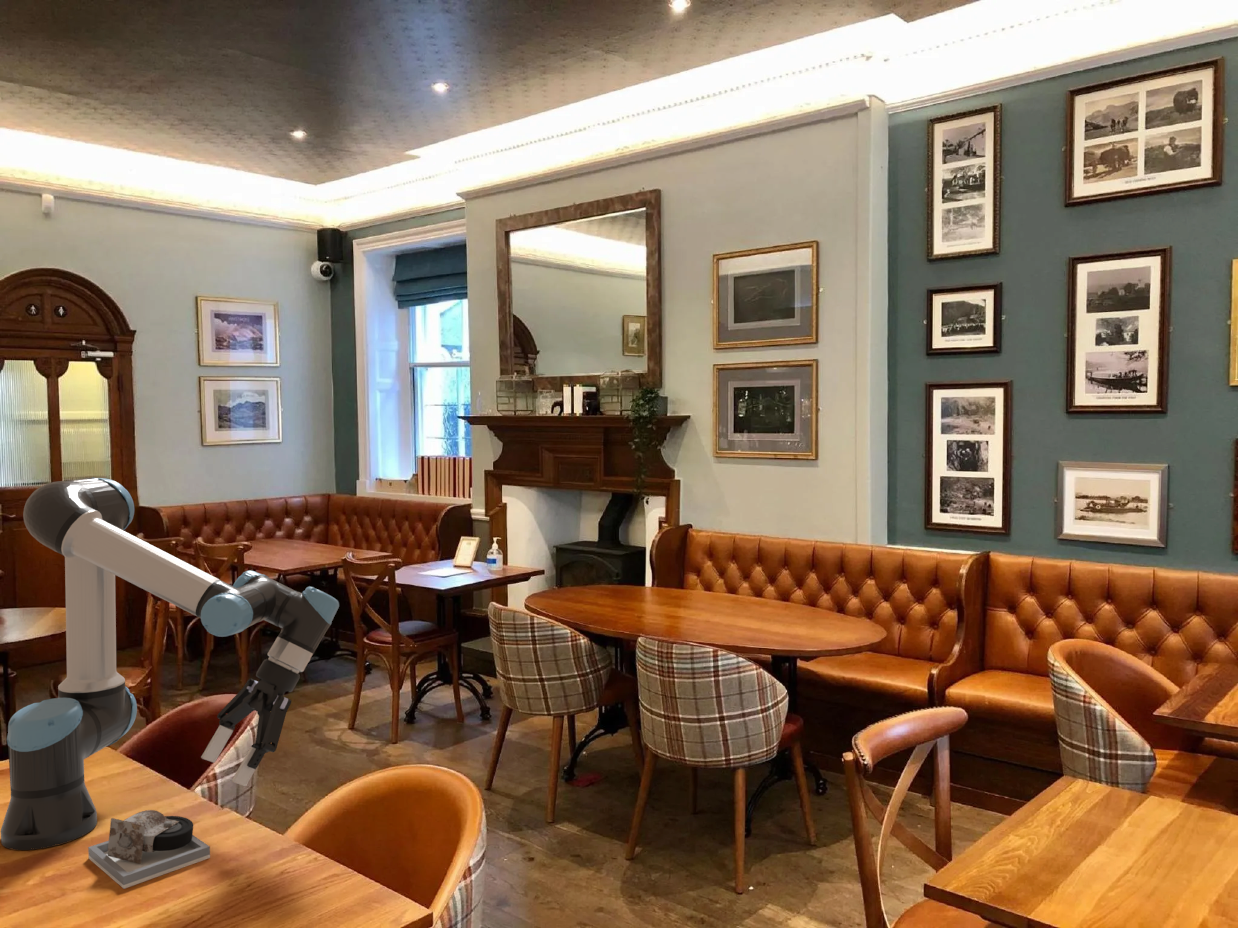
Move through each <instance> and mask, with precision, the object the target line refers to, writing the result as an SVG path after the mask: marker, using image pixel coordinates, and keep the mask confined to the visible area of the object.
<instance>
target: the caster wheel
mask: <svg viewBox="0 0 1238 928" xmlns="http://www.w3.org/2000/svg"><path fill="white" fill-rule="evenodd" d="M193 833H194V822H193V821H192V819H190V818H187V817H184V816H178V815H164V814H163V813H162V812H160V811H158V810H156V809H155V810H154V809H148V810H142V811H139V812H137V813H135V814H133V815H131V816H129V817H127V818H126V819H124V820H122V819H117V818H114V817H112V818H111V819H110V827H109V835H108V841H109V843H108V853H107V854H108V856H110V857H114V858H118V859H122V860H126V861H129V862H133V863H137V864H141V860H142V851H144V852H154V851H169V850H174V849H178V848H181V847H183V846H185V845H187V844H188V843H189V842H190V841H191V840H192V835H194V834H193Z"/></svg>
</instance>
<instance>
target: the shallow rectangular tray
mask: <svg viewBox="0 0 1238 928" xmlns="http://www.w3.org/2000/svg"><path fill="white" fill-rule="evenodd" d="M108 843H109V840H106V841H103V842H100V843H97V844H94V845H93V844H92V845H90V846H88V847H87V848H88V851H87V852H88V859H89V860H90V861H91V862H92V863H93V864H94V865H96V866H97V867H98V868H99V869H100V870H101V871H103V872H104V873H105V874H106V875H107V876H108V877H109V878H110V879H112V880H113V881H114V882H115V883H116V884H118V885H119V886H120V887H121V888H122V889H127V888H131V887H133V886H136V885H138V884H142V883H143V882H147V881H149V880H152V879H154V878H157V877H161V876H164V875H165V874H169V873H172V872H174V871H177V870H180V869H182V868H185V867H188V866H191V865H193V864H196V863H199V862H202V861H205V860H207V859H208V860H209V859H210V858H211V847H210V845H209V844H207V843H205V842H204V841H202V840H201V839H200V838H198V837H196V836H195V835H194V834H193V835H192V840H191V841H190V842H189V843H188V844H187V845H185V846H183V847H181V848H178V849H174V850H169V851H154V852H144V851H142V860H141V864H137V863H133V862H129V861H126V860H122V859H118V858H114V857H110V856H108V854H107V853H108Z"/></svg>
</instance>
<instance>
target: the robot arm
mask: <svg viewBox="0 0 1238 928" xmlns="http://www.w3.org/2000/svg"><path fill="white" fill-rule="evenodd" d="M23 507H24V508H23V512H22V513H23V514H22V515H23V522H24V525H25V527H26V529H27V531H28V532H29V534H30V535H31V536H32V537H33V538H34V539H35V540H36V541H37V542H39V543H40V544H42V545H43V546H45V547H46V548H48V549H50V550H52V551H54V553H55V552H56V553H58V554H60V555H62V556H64V567H65V568H64V571H65V572H64V573H65V574H64V577H65V578H64V580H65V582H64V583H65V586H64V587H65V638H66V646H65V647H66V650H65V651H66V678H65V679H64V680H62V682H60V684H58V686H57V687H58V688H57V689H58V691H57V693H58V694H57V697H55V698H50V699H44V700H41V701H40V702H34V703H31V704H28V705H26V706H24V707H22V708H21V709H19V710H17V711H16V712H15V713H14V714H13V715H12V716H11V717H10V719H9V721H8V725H7V732H8V733H7V736H6V742H7V747H8V749H7V750H8V765H9V785H10V800H9V803H8V807H7V809H6V811H5V815H4V816H5V817H4V819H3V822H2V825H1V829H0V842H1V845H2V846H3V847H5V848H6V849H9V850H16V851H28V850H29V851H33V850H40V849H45V848H50V847H55V846H60V845H62V844H65V843H69V842H71V841H74V840H76V839H78V838H80V837H83V836H84V835H87V834H88V833H90V832H91V831H93V830H94V829H95V828H96V826H97V824H98V815H97V808H96V806H95V803H94V802H93V800H92V797H91V796H90V793H89V790H88V789H87V786H86V783H85V782H86V781H85V761H84V760H85V759H87V758H89V757H91V756H92V755H94V754H96V753H98V752H99V751H101V750H103V749H104V748H106V747H110V746H111V745H113V744H115V743H117V742H118V741H119V739H121V738H122V737H123V736H124V735H126V734H127V733H128V732H129V731H130V730H131V729H132V726H133V725H134V723H135V720H136V718H137V713H138V712H137V711H138V706H137V700H136V697H135V696H134V694H133V693H131V692H130V689H129V688H128V687H127V686H126V679H125V677H124V676H123V675H121V674H120V673H119V672H118V671H117V627H116V625H117V623H116V622H117V620H116V618H117V617H116V616H117V615H116V614H117V611H116V610H117V609H116V577H119V578H121V579H122V580H125V581H126V582H128V583H131V584H132V585H134V586H136V587H138V588H140V589H143V590H144V591H146V592H149V594H152V595H154V596H155V597H158V598H160V599H162V600H164V601H166V602H168V603H170V604H172V605H173V606H175V607H177V608H179V609H182V610H183V611H186V612H188V613H190V614H192V615H193V616H196V617H197V618H200V622H201V624H202V626H203V627H204V629H205V630H206V632H208V634H211V635H213V636H215V637H221V638H223V637H229V636H233V635H236V634H240V633H241V632H243V631H245V630H246V629H247V628H249V627H251V626H253V625H256V624H258V623H260V622H262V621H265V622H268V623H270V624H272V625H274V626H276V627H278V628H280V629H281V631H280V633H279V634H278V636H277V637H276V638H275V641H274V642H273V644H272V645H271V647H270V649H269V651H268V652H267V656H268V658H266V659H264V660H263V661H262V663H261V664H260V666H259V667H258V669H257V671H256V674H255V676H256V677H257V679H259V681H257V680H256V679H253V678H250V677H249V679H247V681H246V683H245V684H244V685H243V687H242V689H240V690H239V692H237V694H235V695H234V696H233V698H232V699H231V700H230V701H229V702H228V703H227V704H226V705H225V706H224V707H223V708H222V709H221V710H220V711H219V712H218V713H217V716H216V717H217V719H219V723H218V724H219V725H218V728H217V729H216V731H215V733H214V735H212V738H211V739H210V741H209V742H208V744H207V746H206V748H205V749H204V752H203V753H202V755H201V756H200V758H201V759H202V760H205V761H208V762H211V763H214V764H215V763H216V761H217V759H218V758H219V757H220V754H221V753H222V751H223V749H224V748H225V746H226V745H227V742H228V740H229V739H230V737H231V736H232V734H233V732H234V730H235V728H236V725H238V724H239V723H240V722H241V721H242V720H244V719H245V718H246V717H247V716H249V715H251V713H253V712H255V711H256V714H257V716H258V720H257V729H256V736H255V742H254V743H252V744H251V746H250V748H249V750H248V752H247V753H246V755H245V757H244V758H243V760H242V761H241V763H240V766H239V767H238V768H237V770H236V772H235V774H234V775H233V778H232V779H231V782H232V783H235V784H237V785H240V786H243V787H247V785H248V783H249V782H250V780H251V778H252V776H253V774H254V773H255V771H256V769H257V768H258V767H259V765H260V763H261V762H262V760H263V758H264V756H265V754H266V753H268V752H271V753H275V752H276V751H277V748H278V743H279V742H280V738H281V733H282V730H283V726H284V723H285V719H286V716H287V712H288V710H289V708H290V706H291V704H292V700H291V699H290V698H287V697H285V696H284V695H285V693H286V692H288V693H291V692H293V691H294V689H295V687H296V685H297V683H298V682H299V680H300V678H301V676H300V674H299V673H303V672H304V671H305V670H306V667H307V665H308V663H309V662H310V661H311V658H312V656H313V655H314V653H315V652H316V650H317V648H318V647H319V644H320V643H321V641H322V639H323V638H324V636H325V634H326V632H327V631H328V630H329V628H330V627H331V625H332V623H333V622H332V621H333V620H334V617H335V615H336V614H337V611H338V609H340V608H339V607H340V602H339V600H338V599H336V598H335V597H333V596H332V595H330V594H328V593H327V592H324V591H323V590H320V589H317V588H315V587H314V586H307V587H306V588H305V590H303V591H302V592H300V591H297V590H294V589H292V588H291V587H288V586H287V585H285V584H282V583H280V582H278V581H276V580H274V579H273V578H270V577H269V576H268V575H266V574H264V573H263V574H262V573H260V572H257V571H254V570H250V569H249V570H246V571H243V572H242V573H241V575H240V576H238V577H237V578H236V580H235V582H234V583H233V585H232V584H229V583H227V582H225V581H223V580H220V579H219V578H218V577H215V576H213V575H211V574H210V573H208V572H205V571H204V570H202V569H199V568H198V567H196V566H194V565H192V564H190V563H188V562H186V561H185V560H182V559H180V558H178V557H176V556H174V555H172V554H170V553H168V552H166V551H165V550H162V549H160V548H159V547H156V546H154V545H153V544H150V543H149V542H147V541H145V540H143V539H141V538H139V537H137V536H135V535H133V534H131V533H129V532H127V531H126V529H128V527H129V525H130V524H131V523H132V521H133V519H134V515H135V503H134V500H133V498H132V496H131V493H130V492H129V491H128V490H127V489H126V488H125V487H124V486H123V485H122V484H121V483H119V481H118V482H117V481H115V480H113V479H110V478H105V477H104V478H102V477H86V478H79V479H72V480H61V481H59V480H58V481H52V482H49V483H46V484H43V485H42V486H39V487H38V488H37V489H35V490H34V491H33V492H32V493H31V494H30V496H29V497H28V498H27V499H26V502H25V505H24V506H23Z"/></svg>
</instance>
